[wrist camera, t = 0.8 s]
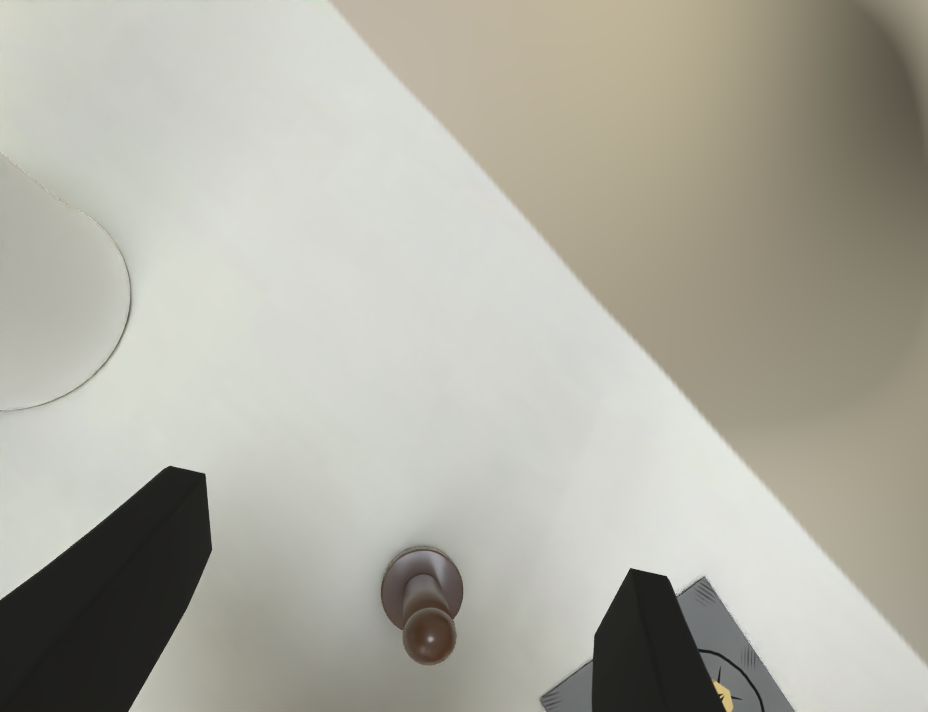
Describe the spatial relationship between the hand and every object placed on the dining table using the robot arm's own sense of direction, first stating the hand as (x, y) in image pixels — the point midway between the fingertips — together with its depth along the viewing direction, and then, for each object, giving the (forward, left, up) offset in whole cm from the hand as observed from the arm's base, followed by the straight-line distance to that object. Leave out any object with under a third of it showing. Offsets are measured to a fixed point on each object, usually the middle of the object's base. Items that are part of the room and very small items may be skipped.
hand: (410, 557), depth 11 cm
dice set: (-6, -12, -15) cm, 20 cm away
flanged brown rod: (-2, -1, -15) cm, 15 cm away
